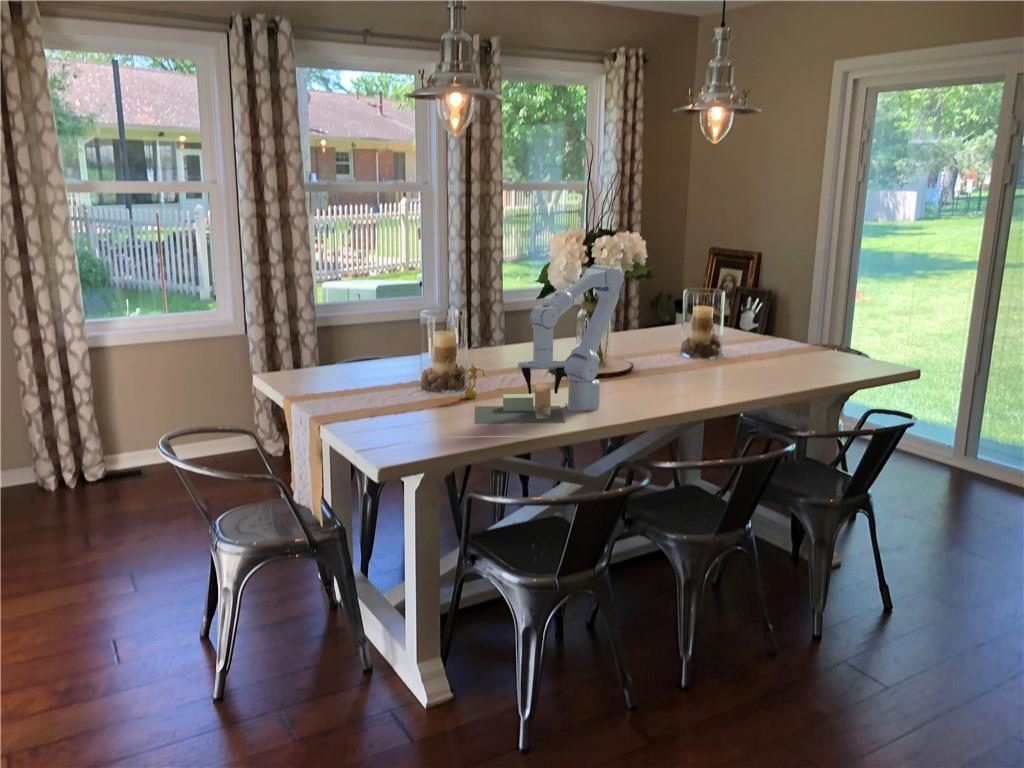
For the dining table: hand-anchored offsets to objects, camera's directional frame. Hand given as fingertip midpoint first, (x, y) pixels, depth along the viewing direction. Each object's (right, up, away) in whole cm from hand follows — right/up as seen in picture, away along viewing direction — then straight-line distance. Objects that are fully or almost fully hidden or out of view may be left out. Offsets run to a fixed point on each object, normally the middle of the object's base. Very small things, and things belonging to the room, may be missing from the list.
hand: (542, 392), depth 245 cm
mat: (-7, -7, +2) cm, 10 cm away
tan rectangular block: (0, -2, +1) cm, 3 cm away
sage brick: (-7, -5, +7) cm, 11 cm away
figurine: (-22, -3, +19) cm, 29 cm away
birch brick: (0, -6, +2) cm, 7 cm away
